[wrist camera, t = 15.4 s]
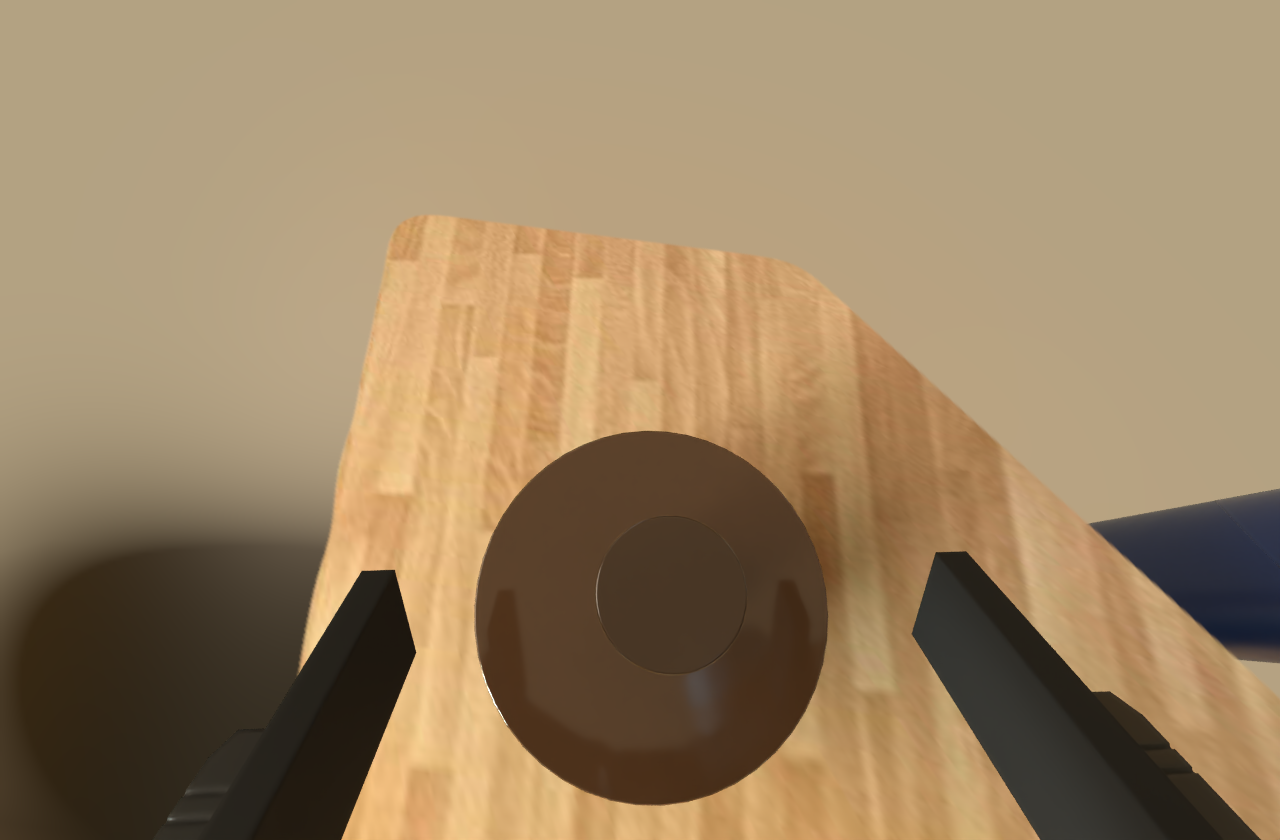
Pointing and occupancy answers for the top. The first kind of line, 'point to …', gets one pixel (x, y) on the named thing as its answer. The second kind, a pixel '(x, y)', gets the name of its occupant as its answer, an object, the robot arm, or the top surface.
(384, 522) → the top surface
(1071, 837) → the robot arm
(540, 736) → the lid
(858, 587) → the top surface
